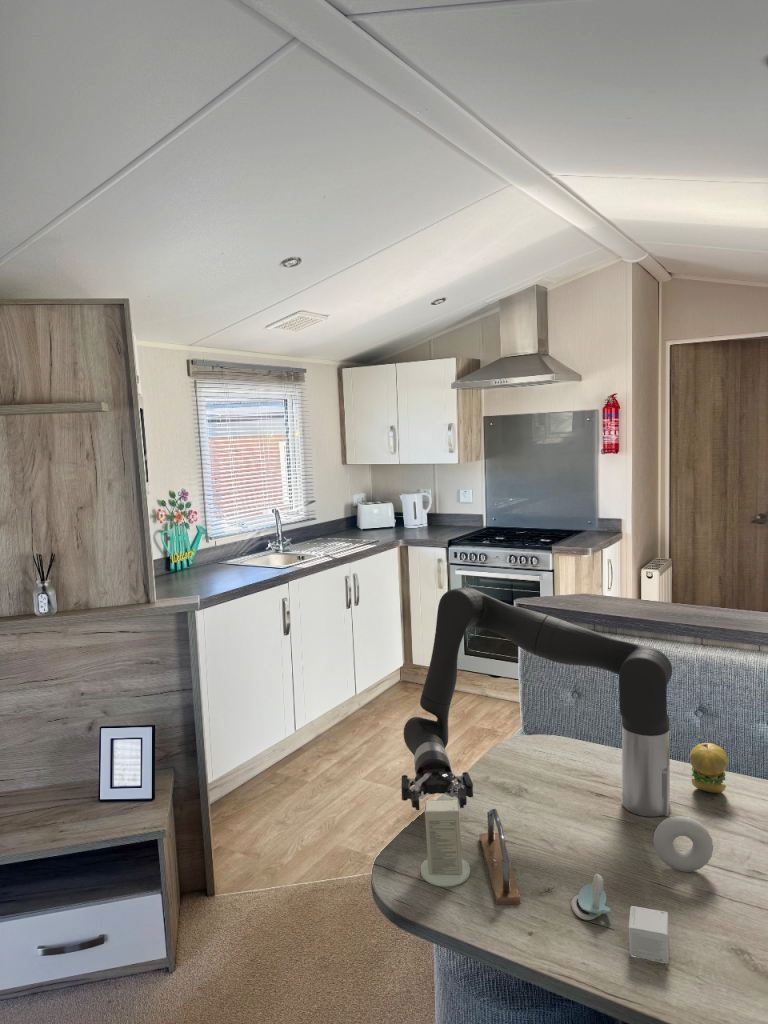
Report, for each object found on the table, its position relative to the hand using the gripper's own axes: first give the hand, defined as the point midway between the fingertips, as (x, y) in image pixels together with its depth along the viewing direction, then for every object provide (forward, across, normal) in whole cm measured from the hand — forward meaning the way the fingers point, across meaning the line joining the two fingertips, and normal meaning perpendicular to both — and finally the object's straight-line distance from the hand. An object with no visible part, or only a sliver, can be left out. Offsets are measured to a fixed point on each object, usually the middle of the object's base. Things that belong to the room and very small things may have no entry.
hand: (439, 804), depth 142 cm
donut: (+11, +42, +9) cm, 45 cm away
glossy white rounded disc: (+8, 0, +9) cm, 12 cm away
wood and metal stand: (+8, +10, +9) cm, 15 cm away
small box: (+30, +29, +9) cm, 43 cm away
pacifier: (+20, +23, +9) cm, 32 cm away
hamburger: (-15, +59, +9) cm, 62 cm away
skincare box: (+8, 0, +8) cm, 11 cm away
